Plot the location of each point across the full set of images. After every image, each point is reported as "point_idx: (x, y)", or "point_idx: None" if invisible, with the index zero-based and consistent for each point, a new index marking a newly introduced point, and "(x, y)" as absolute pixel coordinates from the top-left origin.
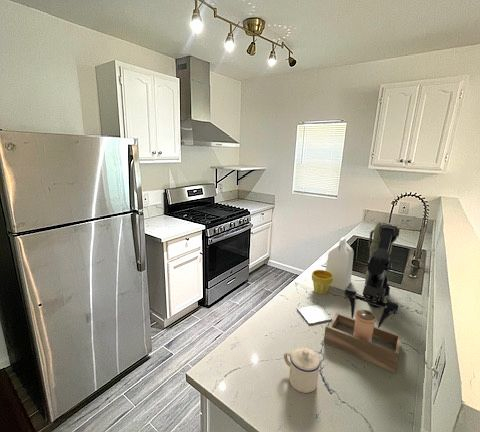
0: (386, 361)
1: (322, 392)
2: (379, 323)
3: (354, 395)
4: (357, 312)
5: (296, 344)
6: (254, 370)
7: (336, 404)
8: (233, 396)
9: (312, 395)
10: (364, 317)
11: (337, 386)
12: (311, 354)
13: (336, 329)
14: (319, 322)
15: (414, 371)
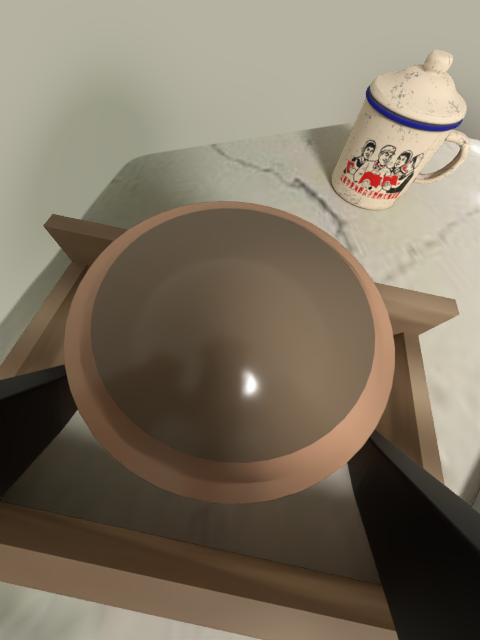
0: None
1: (314, 177)
2: (56, 374)
3: (244, 186)
4: (368, 318)
5: (451, 291)
6: (466, 185)
7: (280, 163)
8: (448, 141)
9: (330, 168)
10: (258, 234)
11: (286, 196)
12: (415, 75)
13: (391, 295)
14: (474, 507)
15: (10, 318)
